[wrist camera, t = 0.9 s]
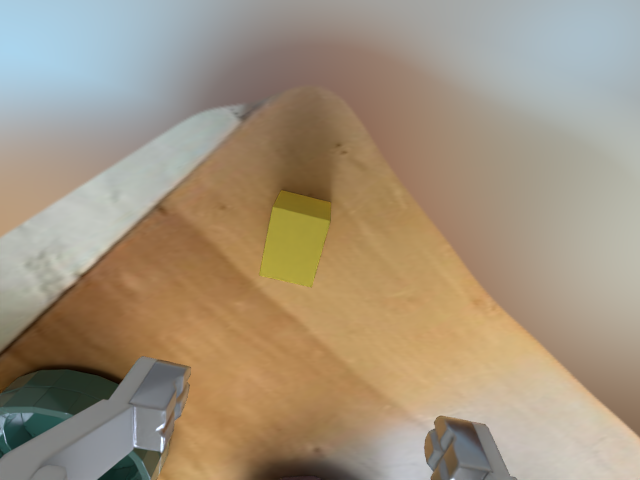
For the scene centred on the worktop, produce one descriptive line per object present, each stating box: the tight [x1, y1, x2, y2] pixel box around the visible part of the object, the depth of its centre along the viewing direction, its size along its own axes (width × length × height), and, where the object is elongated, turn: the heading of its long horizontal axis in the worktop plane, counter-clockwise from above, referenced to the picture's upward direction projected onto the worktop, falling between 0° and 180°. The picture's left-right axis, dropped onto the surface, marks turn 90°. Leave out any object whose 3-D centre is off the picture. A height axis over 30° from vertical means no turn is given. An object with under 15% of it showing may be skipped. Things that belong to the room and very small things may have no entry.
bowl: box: [0, 369, 169, 480], centre depth 32 cm, size 17×17×4 cm
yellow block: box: [259, 190, 331, 287], centre depth 23 cm, size 5×4×4 cm
